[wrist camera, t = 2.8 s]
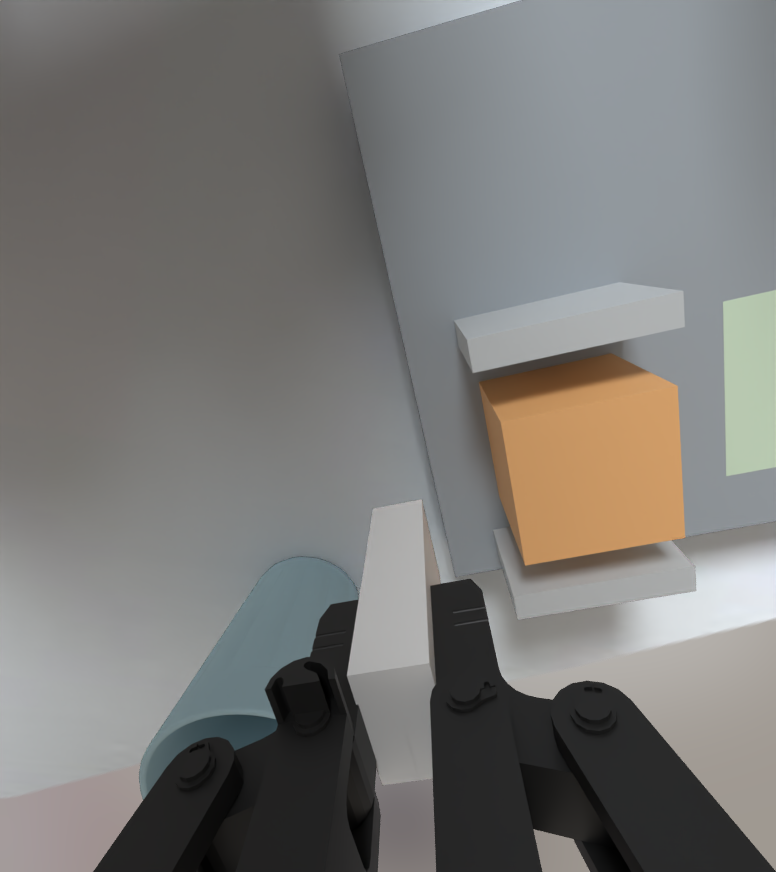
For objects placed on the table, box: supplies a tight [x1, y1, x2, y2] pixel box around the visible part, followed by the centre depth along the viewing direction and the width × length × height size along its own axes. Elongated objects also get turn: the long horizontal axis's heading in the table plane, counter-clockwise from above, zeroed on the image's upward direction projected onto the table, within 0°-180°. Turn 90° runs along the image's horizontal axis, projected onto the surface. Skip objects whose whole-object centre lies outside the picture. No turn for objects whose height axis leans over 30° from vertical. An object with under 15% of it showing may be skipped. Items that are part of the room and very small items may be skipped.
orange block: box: [479, 353, 685, 566], centre depth 18 cm, size 5×5×5 cm
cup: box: [139, 557, 358, 800], centre depth 22 cm, size 8×8×10 cm
